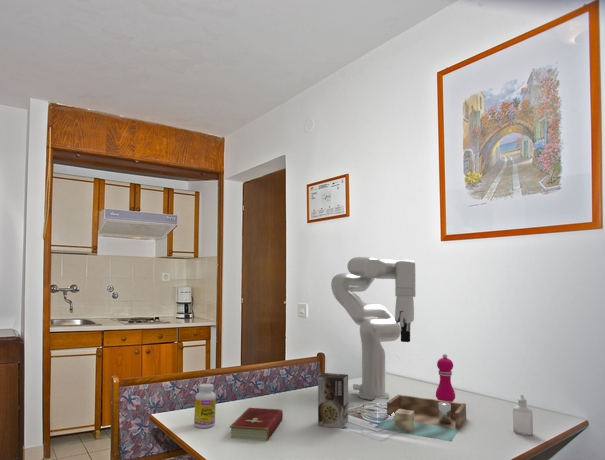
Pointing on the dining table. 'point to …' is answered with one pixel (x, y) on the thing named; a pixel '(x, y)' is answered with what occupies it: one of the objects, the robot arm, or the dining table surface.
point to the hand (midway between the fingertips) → (405, 341)
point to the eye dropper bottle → (522, 418)
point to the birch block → (404, 419)
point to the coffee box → (332, 400)
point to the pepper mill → (445, 380)
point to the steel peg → (444, 412)
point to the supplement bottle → (205, 406)
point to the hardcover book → (256, 424)
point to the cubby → (425, 417)
